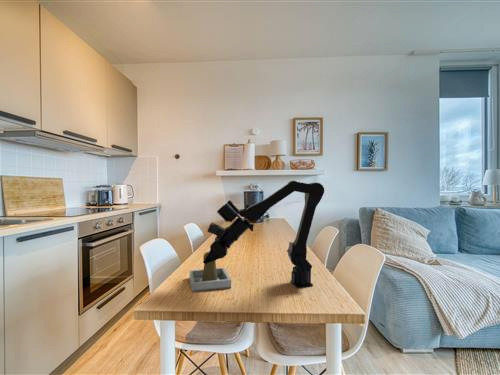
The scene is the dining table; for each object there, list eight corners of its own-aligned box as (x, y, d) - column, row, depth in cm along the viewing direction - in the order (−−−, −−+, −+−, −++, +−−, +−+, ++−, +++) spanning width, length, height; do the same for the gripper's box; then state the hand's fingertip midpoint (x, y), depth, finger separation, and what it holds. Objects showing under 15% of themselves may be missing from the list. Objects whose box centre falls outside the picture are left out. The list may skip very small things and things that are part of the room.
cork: (215, 277, 99) (216, 249, 99) (219, 282, 93) (219, 253, 93) (200, 279, 97) (200, 251, 97) (203, 284, 91) (203, 255, 91)
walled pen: (223, 274, 104) (223, 267, 104) (231, 288, 90) (231, 279, 90) (189, 277, 100) (189, 270, 100) (191, 292, 86) (191, 283, 86)
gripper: (222, 213, 104) (196, 239, 104) (217, 219, 86) (184, 250, 86) (241, 232, 104) (214, 258, 104) (239, 242, 86) (207, 273, 86)
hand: (205, 259), depth 95 cm, fingers open, 9 cm apart
